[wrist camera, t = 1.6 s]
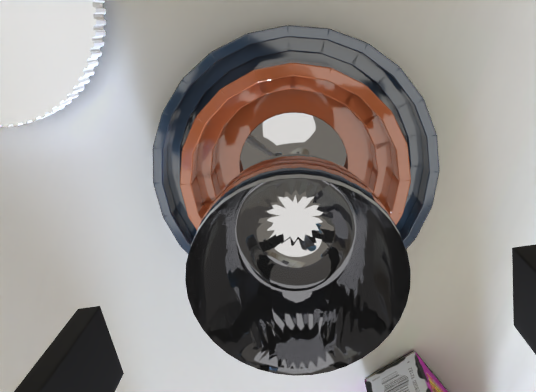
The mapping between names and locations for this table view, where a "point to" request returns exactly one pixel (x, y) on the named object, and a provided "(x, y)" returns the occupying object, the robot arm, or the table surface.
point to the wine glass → (297, 255)
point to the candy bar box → (405, 377)
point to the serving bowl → (309, 49)
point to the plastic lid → (46, 55)
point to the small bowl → (294, 100)
